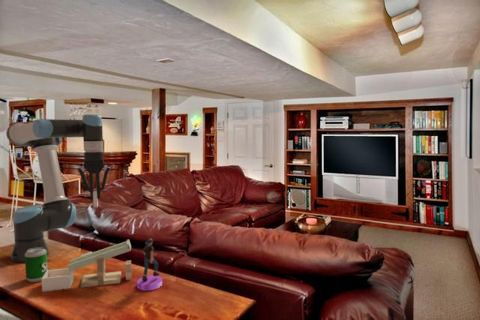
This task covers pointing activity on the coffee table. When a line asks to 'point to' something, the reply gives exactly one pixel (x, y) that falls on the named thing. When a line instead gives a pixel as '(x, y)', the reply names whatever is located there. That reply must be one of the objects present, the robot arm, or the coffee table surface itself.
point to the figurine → (150, 280)
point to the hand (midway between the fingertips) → (95, 206)
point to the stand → (105, 275)
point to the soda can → (35, 264)
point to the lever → (106, 253)
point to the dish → (57, 280)
